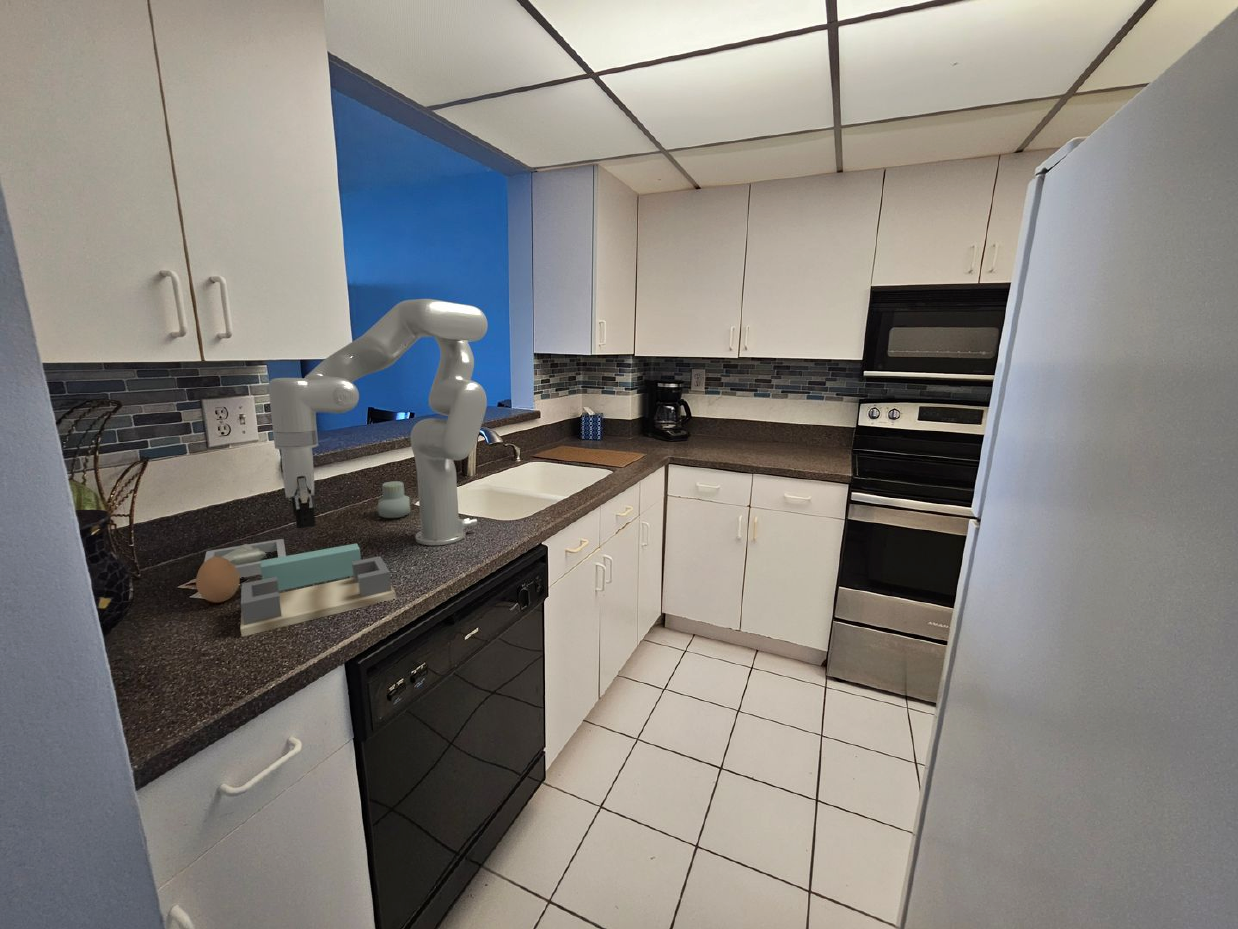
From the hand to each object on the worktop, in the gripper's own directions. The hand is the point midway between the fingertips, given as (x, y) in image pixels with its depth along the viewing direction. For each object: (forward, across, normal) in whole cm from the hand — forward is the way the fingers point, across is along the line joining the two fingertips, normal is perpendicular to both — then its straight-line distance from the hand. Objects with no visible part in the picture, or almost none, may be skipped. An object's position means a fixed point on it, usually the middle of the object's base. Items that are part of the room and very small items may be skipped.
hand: (304, 520), depth 107 cm
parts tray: (+14, -17, -11) cm, 25 cm away
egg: (+14, +1, -15) cm, 21 cm away
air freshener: (+13, -37, +25) cm, 47 cm away
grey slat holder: (+12, +13, +1) cm, 18 cm away
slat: (+14, 0, +1) cm, 14 cm away
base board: (+14, +13, +1) cm, 19 cm away
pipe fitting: (+14, -18, -12) cm, 26 cm away
